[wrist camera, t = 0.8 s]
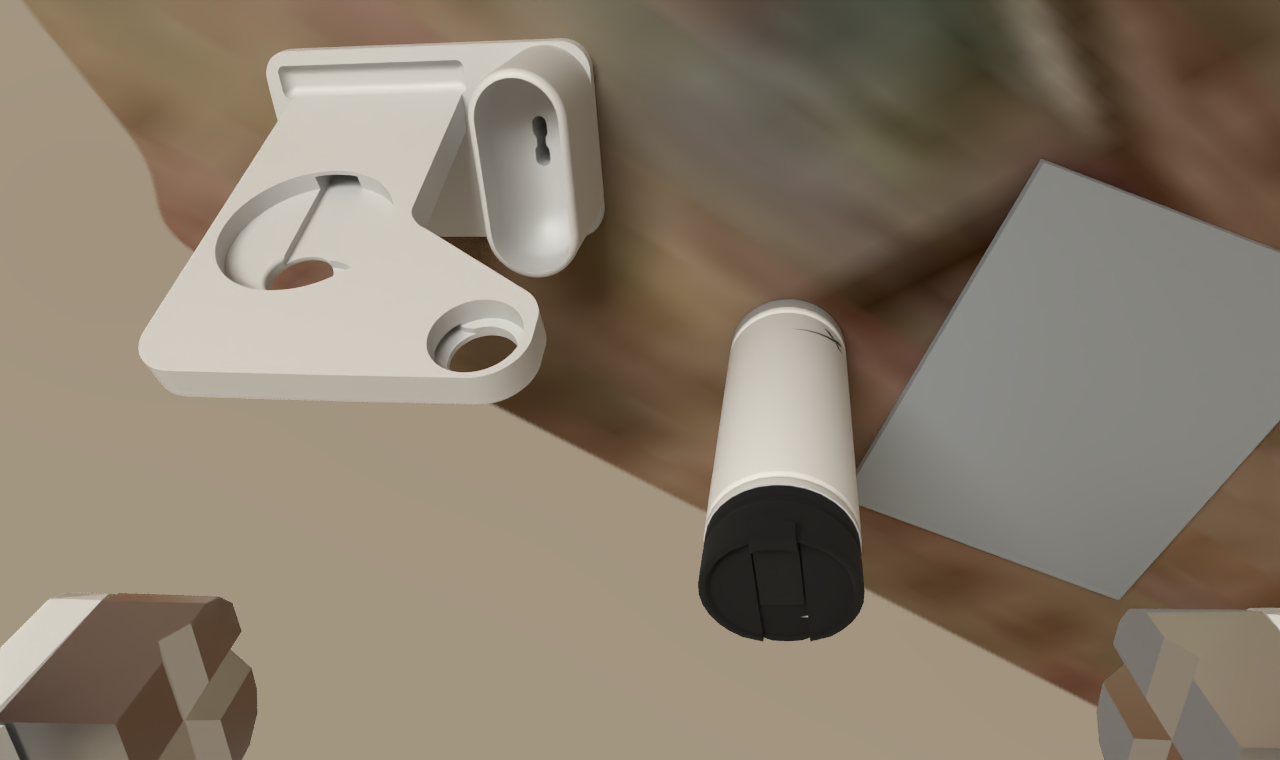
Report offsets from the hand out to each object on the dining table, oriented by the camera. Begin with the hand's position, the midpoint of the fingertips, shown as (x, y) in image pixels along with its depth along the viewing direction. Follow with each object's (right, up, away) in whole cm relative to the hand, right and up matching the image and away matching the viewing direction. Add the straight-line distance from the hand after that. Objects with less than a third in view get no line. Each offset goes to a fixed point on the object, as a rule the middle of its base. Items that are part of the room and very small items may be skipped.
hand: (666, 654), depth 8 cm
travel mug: (+8, +5, +42) cm, 43 cm away
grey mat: (+24, +1, +41) cm, 47 cm away
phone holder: (-10, +15, +39) cm, 43 cm away
